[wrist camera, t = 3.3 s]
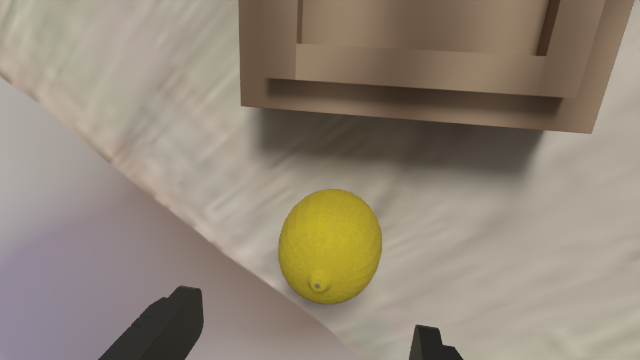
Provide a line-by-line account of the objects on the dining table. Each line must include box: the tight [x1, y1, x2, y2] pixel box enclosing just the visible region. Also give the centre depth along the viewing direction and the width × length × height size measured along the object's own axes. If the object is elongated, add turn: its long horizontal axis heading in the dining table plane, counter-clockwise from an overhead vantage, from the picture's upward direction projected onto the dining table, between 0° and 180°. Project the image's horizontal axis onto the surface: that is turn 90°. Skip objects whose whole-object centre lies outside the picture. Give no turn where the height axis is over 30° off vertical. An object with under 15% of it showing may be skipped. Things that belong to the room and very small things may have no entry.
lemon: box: [278, 189, 382, 304], centre depth 19 cm, size 6×6×8 cm
